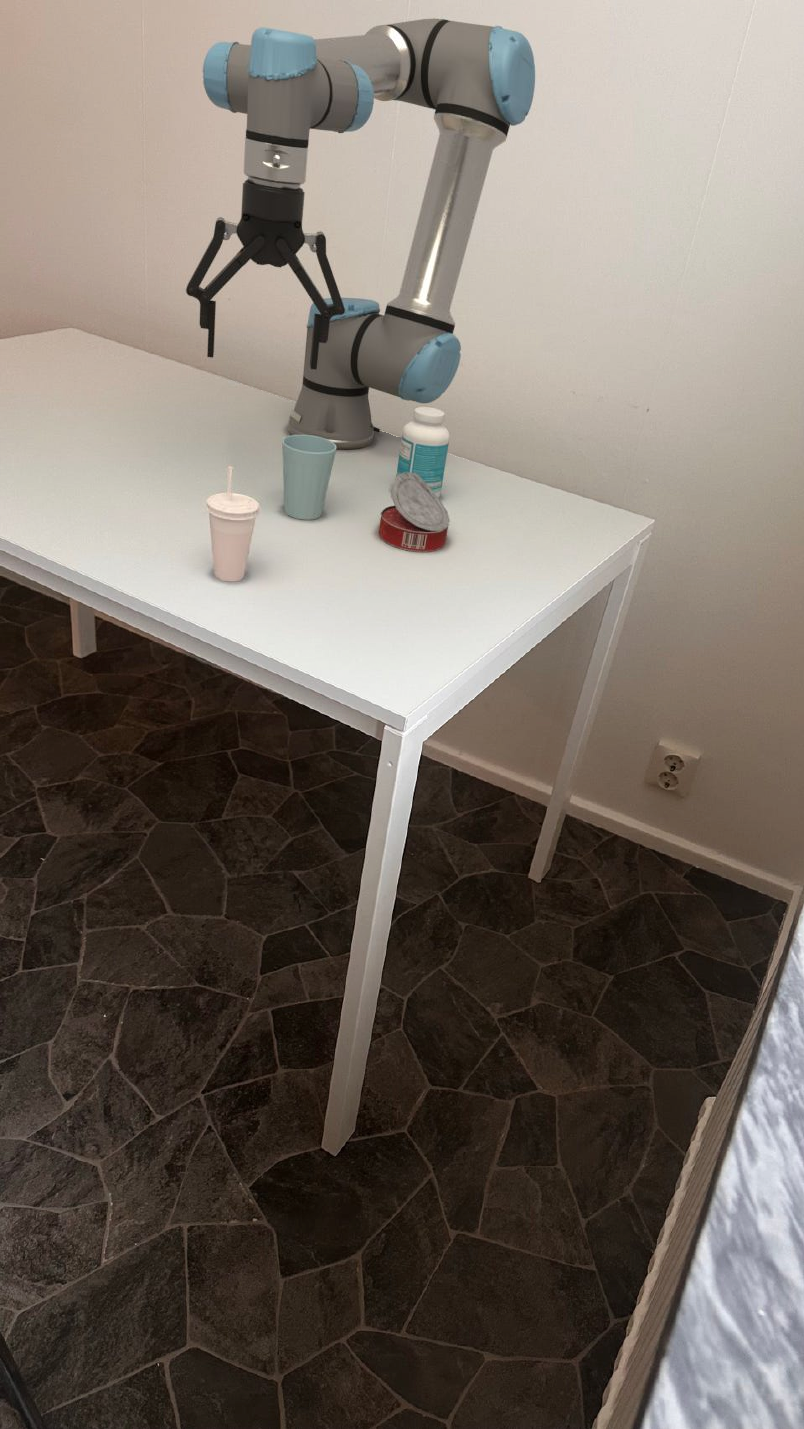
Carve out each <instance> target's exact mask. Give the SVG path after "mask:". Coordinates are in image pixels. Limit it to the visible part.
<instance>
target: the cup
mask: <svg viewBox="0 0 804 1429" xmlns="http://www.w3.org/2000/svg"><path fill="white" fill-rule="evenodd" d="M281 448H282V449H281V450H282V451H281V452H282V474H283V476H282V477H283V480H282V481H283V511H284V513H285V514H286V515H287V516H289V517H291V518H294V519H296V520H303V521H305V520H306V521H310V520H316V519H317V520H318V519H319V518H321V517H322V514H323V509H324V505H325V502H326V501H325V500H326V496H327V492H328V488H329V483H330V479H331V474H332V469H333V465H334V461H335V457H336V452H337V449H336V448H337V447H336V445H335V444H334V443H333V442H331V441H329V440H327V439H324V438H321V437H317V436H311V435H291V434H290V435H287V436H285V437H283V438H282V441H281Z"/></svg>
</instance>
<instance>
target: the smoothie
mask: <svg viewBox="0 0 804 1429" xmlns="http://www.w3.org/2000/svg"><path fill="white" fill-rule="evenodd" d="M233 472H234V467H233V466H228V467H227V481H226V482H227V483H226V492H220V493H215V494H212V495H210V496H209V497H208V498H207V499H206V506H205V508H206V511H207V512H208V516H209V529H210V539H211V551H212V554H211V555H212V564H213V565H212V566H213V576H214V577H215V578H216V579H218V580H220V581H222V582H223V581H224V582H229V583H230V582H231V583H234V582H239V581H242V580H243V579H244V578H245V573H246V569H247V564H248V558H249V554H250V548H251V543H252V538H253V534H254V529H255V524H256V518H257V517H258V516H259V515H260V503H259V502H258V501H257V499H255V498H253V497H251V496H248V495H246V494H242V493H237V492H236V493H235V492H233V476H234V475H233V474H234V473H233Z"/></svg>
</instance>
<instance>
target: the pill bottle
mask: <svg viewBox="0 0 804 1429" xmlns="http://www.w3.org/2000/svg"><path fill="white" fill-rule="evenodd" d="M444 420H445V412H444V411H442V410H441V409H438V408H435V407H428V406H418V407H416V408H414V410H413V420H412V421H409V422H407V423H406V424H405V425H404V426H403V427H402V430H401V431H402V432H401V439H400V446H399V452H398V461H397V468H396V474H395V478H396V477H397V475H399V474H401V473H404V472H406V471H407V472H409V473H416V474H417V475H418V476H420V477H421V478H422V479H423V480H424V481H425V483H426V484H427V485H428V486H429V487H430V488H431V489H432V490H433V492H434V493H435V494H436V496H437V497H438V498H439V499H440V497H441V492H442V487H443V480H444V475H445V468H446V462H447V457H448V451H449V443H450V438H451V436H450V432H449V430H448V429H447V428H446V427H445V426H444V425H442V424H443V423H444V422H445V421H444Z"/></svg>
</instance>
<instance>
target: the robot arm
mask: <svg viewBox="0 0 804 1429" xmlns="http://www.w3.org/2000/svg"><path fill="white" fill-rule="evenodd" d="M202 78H203V79H202V80H203V81H202V82H203V83H202V84H203V87H204V90H205V94H206V95H207V96H206V97H208V99H209V101H210V102H211V103H212V104H213V105H214V106H216V107H218V108H220V109H224V110H227V111H230V112H231V113H233V114H237V113H239V114H245V115H246V129H245V138H244V155H243V156H244V157H243V158H244V159H243V174H244V176H246V177H247V179H245V180H244V182H242V191H241V192H242V193H241V194H242V195H241V213H240V214H241V216H240V220H239V222H238V223H235V222H233V221H228V220H225V218H224V217H222V216H221V217H217V218H216V220H215V224H214V231H213V236H212V237H211V240H210V242H209V243H208V246H207V248H206V249H205V252H204V253H203V255H202V257H201V259H200V260H199V263H198V264H197V266H196V268H195V270H194V271H193V274H192V276H191V277H190V279H189V281H188V283H187V284H186V288H185V292H186V295H187V296H189V297H192V298H194V299H196V300H197V301H198V302H199V327H200V329H204V330H207V332H208V333H207V353H206V354H207V356H206V357H207V358H212V359H213V358H214V355H215V354H214V352H215V332H216V331H215V330H216V310H217V309H216V308H217V301H216V300H212V299H213V298H214V297H215V296H216V295H217V294H218V293H219V292H220V291H221V290H222V289H223V288H224V287H225V286H226V285H227V284H228V282H230V281H231V279H232V278H233V277H234V276H235V275H236V274H237V273H238V272H239V271H240V270H241V269H242V268H243V267H244V266H245V265H247V263H248V262H249V261H250V260H251V261H252V262H253V263H254V264H256V265H259V266H266V265H270V266H273V267H275V268H282V267H285V266H287V265H288V266H289V268H290V270H291V271H292V272H293V274H294V275H295V276H296V278H297V279H298V281H299V283H300V284H301V286H302V288H304V291H305V292H306V294H307V295H308V296H309V298H310V300H311V301H312V303H311V305H310V307H309V314H308V320H307V324H306V340H305V348H304V349H305V350H304V363H303V374H302V383H301V384H302V385H301V389H300V392H299V393H298V397H297V399H296V402H295V405H294V409H291V412H290V415H289V418H288V423H287V431H288V433H289V435H290V436H291V435H311V436H317V437H321V438H324V439H327V440H329V441H331V442H333V443H334V444H335V445H336V447H337V448H336V450H351V449H352V450H353V449H354V450H355V449H361V448H365V447H367V446H370V445H371V444H372V443H373V440H374V433H375V432H376V433H380V432H381V429H380V428H378V427H377V426H374V423H373V422H372V413H371V406H370V400H369V391H370V389H373V390H376V391H379V392H381V393H384V394H388V395H391V396H395V397H397V398H400V399H401V400H403V401H408V402H409V401H411V402H416V403H419V404H430V403H432V402H434V401H436V400H438V399H440V397H441V396H442V395H443V394H444V393H445V392H446V391H447V390H448V388H449V387H450V385H451V384H452V382H453V381H454V378H455V376H456V373H457V371H458V369H459V366H460V361H461V355H462V354H461V350H462V346H461V342H460V340H459V338H458V337H457V336H456V335H455V333H454V331H455V327H456V322H455V320H454V317H453V315H452V314H451V307H452V303H453V299H454V296H455V292H456V288H457V285H458V281H459V277H460V273H461V270H462V266H463V263H464V259H465V255H466V251H467V248H468V243H469V240H470V236H471V233H472V229H473V225H474V222H475V219H476V214H477V211H478V208H479V204H480V200H481V197H482V193H483V189H484V185H485V181H486V177H487V174H488V170H489V166H490V162H491V159H492V155H493V152H494V150H495V149H496V148H497V147H499V146H500V145H502V144H503V143H505V142H506V141H507V138H508V134H509V130H510V127H511V126H512V127H514V126H517V125H520V124H522V123H523V122H524V121H525V119H526V117H528V115H529V113H530V110H531V107H532V104H533V99H534V95H535V87H536V65H535V57H534V52H533V49H532V46H531V44H530V41H529V40H528V38H527V37H526V36H525V35H524V34H523V33H521V32H519V31H516V30H512V29H506V28H503V27H502V26H500V25H495V26H492V25H483V24H476V23H469V22H462V21H455V20H449V19H444V18H423V19H415V20H408V21H401V22H396V23H395V22H394V23H390V24H389V23H387V24H380V25H376V26H373V27H371V28H370V29H369V30H367V32H366V33H365V34H360V35H350V36H339V37H328V38H317V39H315V38H314V37H313V36H311V35H309V34H303V33H298V32H293V31H288V30H281V29H275V28H270V27H259V28H256V29H254V31H253V33H252V35H251V41H250V44H243V43H239V42H238V41H232V42H229V41H218V42H216V43H214V44H212V46H211V47H210V48H209V49H208V51H207V52H206V55H205V57H204V60H203V64H202ZM375 100H377V101H381V102H390V101H398V102H403V103H406V104H407V103H408V104H411V105H415V106H419V107H422V108H423V107H424V108H427V109H432V110H434V113H433V120H434V122H435V124H436V126H437V129H438V131H439V135H438V138H437V143H436V146H435V151H434V153H433V154H434V155H433V159H432V163H431V168H430V170H429V174H428V177H427V178H428V179H427V182H426V185H425V186H426V187H425V190H424V194H423V198H422V202H421V206H420V210H419V214H418V218H417V222H416V225H415V228H414V233H413V238H412V241H411V245H410V249H409V254H408V258H407V261H406V265H405V270H404V273H403V277H402V281H401V285H400V289H399V293H398V295H397V296H396V297H395V298H393V299H391V300H390V301H388V302H387V303H386V306H385V311H384V314H380V312H381V308H380V303H379V301H376V300H372V299H367V298H357V297H341V294H340V291H339V287H338V285H337V284H338V283H337V282H336V279H335V276H334V273H333V271H332V267H331V265H330V261H329V258H328V255H327V238H326V235H325V233H324V232H323V231H316V233H311V232H310V233H306V232H304V230H303V218H304V217H303V216H304V206H305V205H304V204H305V191H304V189H303V188H301V185H304V184H305V183H306V181H307V170H308V156H309V155H308V154H309V143H310V142H309V141H310V140H309V139H310V131H311V130H317V131H325V132H327V131H328V132H333V133H338V134H344V133H347V132H349V133H352V132H356V131H358V130H360V129H361V128H363V127H364V126H365V125H366V124H367V122H368V121H369V119H370V118H371V115H372V112H373V110H374V104H375ZM234 234H236V235H237V238H238V240H239V241H240V243H241V245H242V247H241V249H240V250H238V252H237V253H236V254H235V255H234V256H233V257H232V259H231V260H230V261H229V262H228V263H226V265H225V266H224V267H223V268H222V269H221V271H219V272H218V274H216V276H215V277H214V278H213V279H212V280H211V281H210V282H209V283H208V284H207V285H206V286H205V287H204V288H203V287H201V284H202V281H203V280H204V279H205V277H206V275H207V274H208V271H209V270H210V268H211V267H212V264H213V262H214V261H215V259H216V256H217V254H218V253H219V251H220V249H221V247H222V244H223V241H228V240H230V238H231V236H232V235H234ZM305 244H307V245H308V247H309V250H310V251H311V252H312V253H314V254H316V258H317V261H318V264H319V266H320V269H321V273H322V275H323V278H324V281H325V284H326V287H327V290H328V292H329V296H330V297H325V298H324V297H323V296H322V294H321V293H320V291H319V289H318V287H317V286H316V285H315V282H314V281H313V280H312V278H311V277H310V275H309V274H308V272H307V270H306V269H305V266H304V265H303V264H302V262H301V260H300V258H298V256H297V254H298V252H299V251H300V250H301V248H303V246H304V245H305Z"/></svg>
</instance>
